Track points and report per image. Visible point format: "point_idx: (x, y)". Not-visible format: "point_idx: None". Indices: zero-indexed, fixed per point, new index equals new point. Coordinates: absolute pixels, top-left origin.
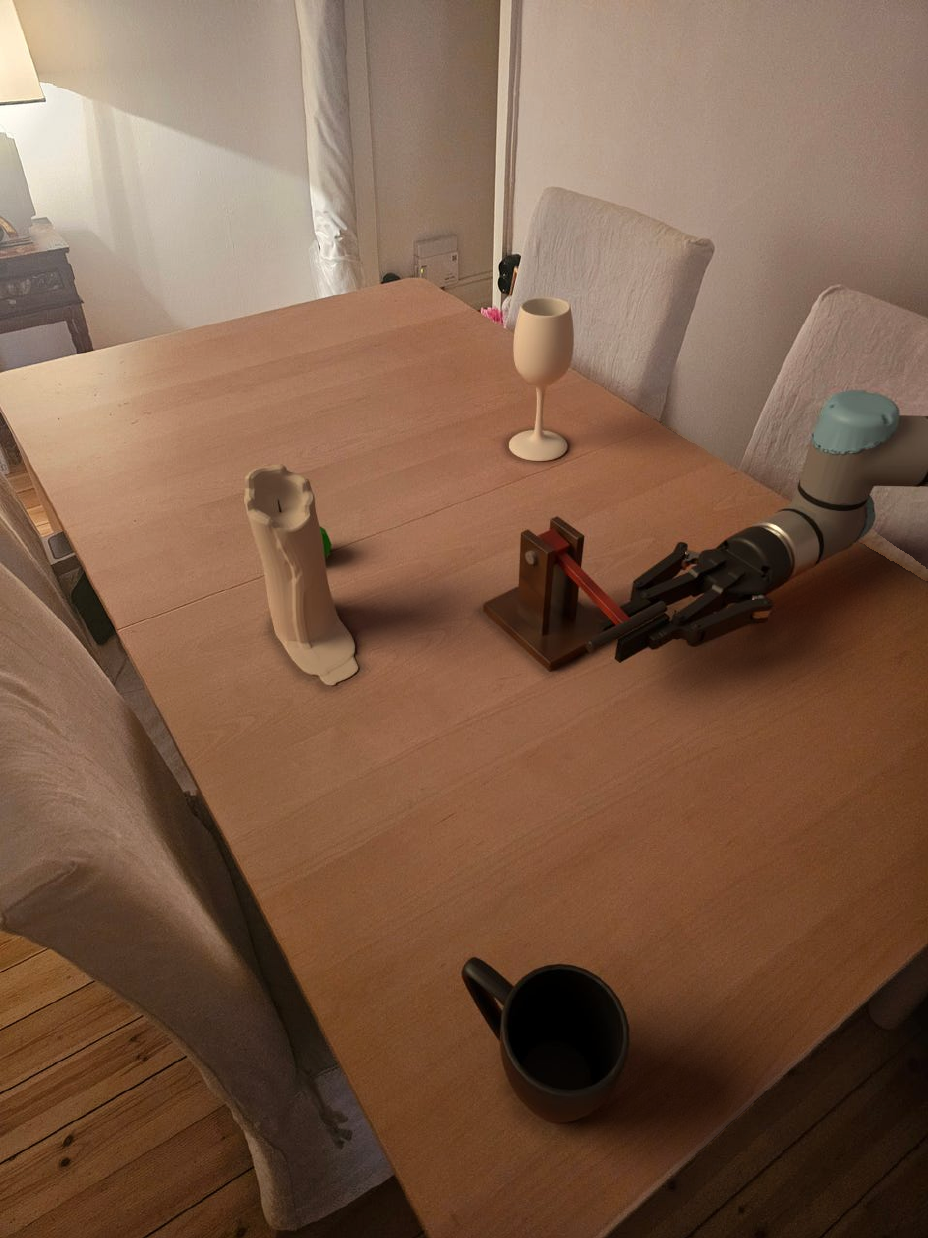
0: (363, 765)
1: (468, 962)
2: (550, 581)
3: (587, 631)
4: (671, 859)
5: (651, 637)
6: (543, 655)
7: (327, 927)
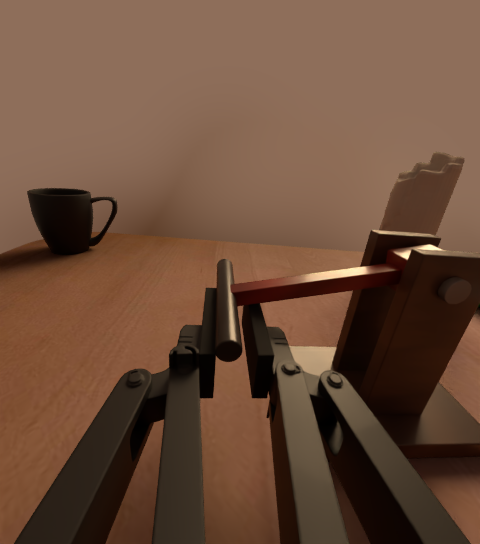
0: (258, 266)
1: (114, 198)
2: None
3: None
4: (48, 313)
5: (192, 325)
6: (298, 347)
7: (191, 243)
